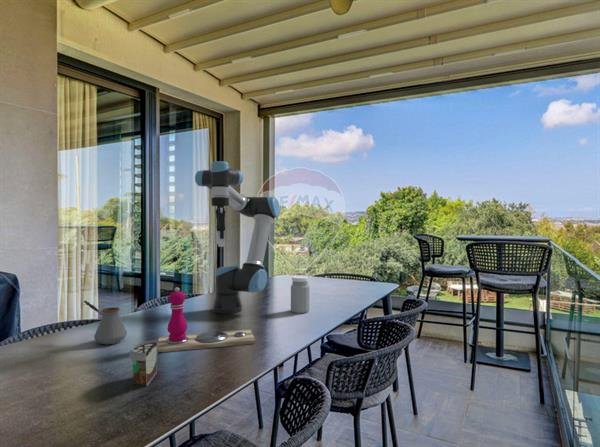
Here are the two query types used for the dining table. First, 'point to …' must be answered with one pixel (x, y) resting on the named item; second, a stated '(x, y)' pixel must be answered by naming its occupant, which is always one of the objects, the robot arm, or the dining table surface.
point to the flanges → (216, 336)
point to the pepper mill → (177, 317)
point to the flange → (176, 342)
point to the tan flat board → (194, 344)
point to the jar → (300, 294)
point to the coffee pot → (109, 326)
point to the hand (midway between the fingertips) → (220, 245)
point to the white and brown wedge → (144, 362)
